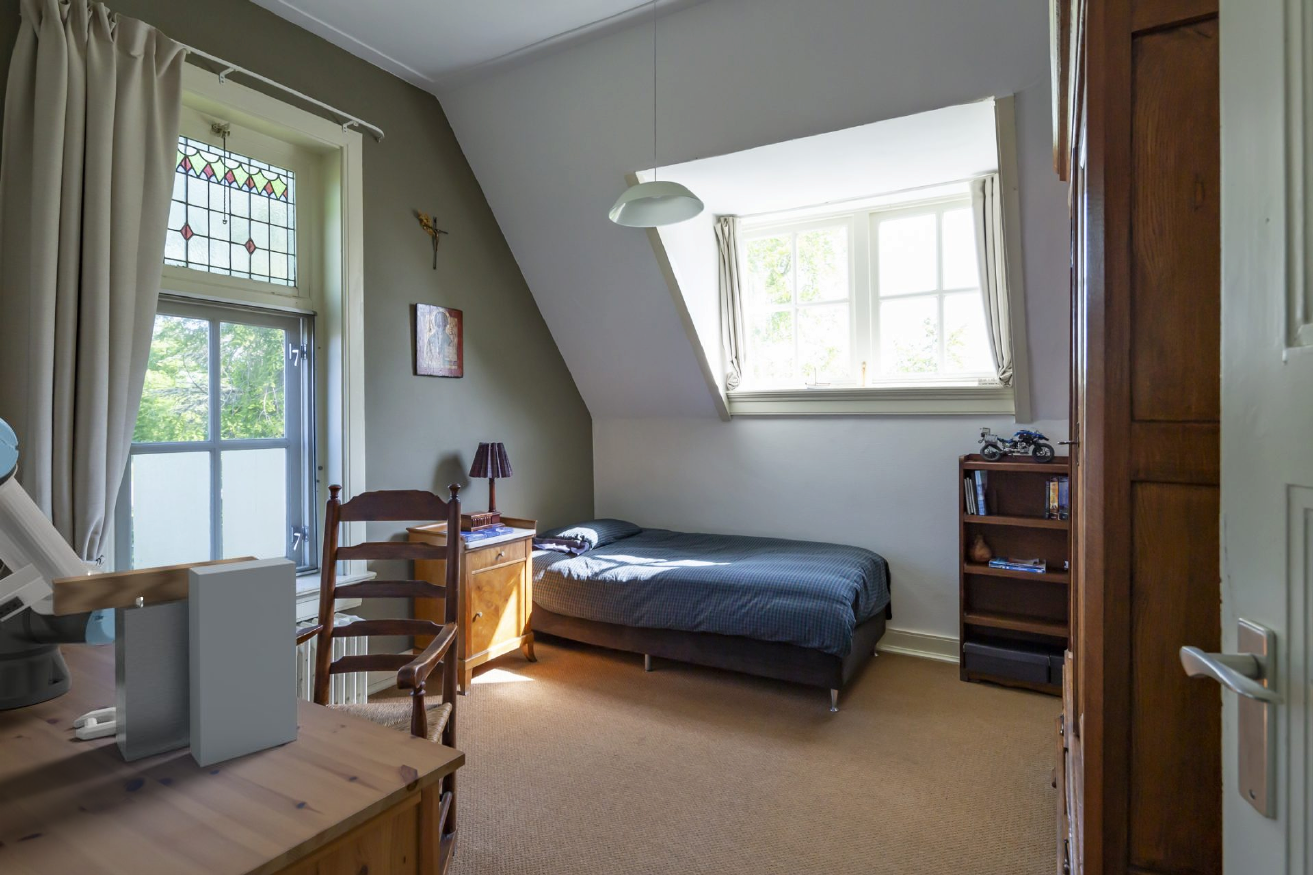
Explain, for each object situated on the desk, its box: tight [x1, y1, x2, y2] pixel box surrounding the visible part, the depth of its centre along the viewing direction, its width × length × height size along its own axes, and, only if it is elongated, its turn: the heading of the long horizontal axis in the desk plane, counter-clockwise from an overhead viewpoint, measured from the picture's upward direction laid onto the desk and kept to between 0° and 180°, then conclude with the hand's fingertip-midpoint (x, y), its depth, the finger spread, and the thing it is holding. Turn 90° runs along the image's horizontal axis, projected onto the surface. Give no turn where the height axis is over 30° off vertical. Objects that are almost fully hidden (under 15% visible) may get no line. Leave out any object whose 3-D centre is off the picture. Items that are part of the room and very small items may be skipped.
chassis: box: [114, 597, 190, 763], centre depth 122 cm, size 10×16×26 cm, turn 134°
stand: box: [189, 556, 298, 768], centre depth 118 cm, size 7×14×30 cm, turn 134°
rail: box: [52, 555, 260, 616], centre depth 120 cm, size 28×4×5 cm, turn 134°
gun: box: [73, 706, 116, 741], centre depth 127 cm, size 18×4×10 cm
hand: (42, 576), depth 109 cm, fingers open, 13 cm apart
